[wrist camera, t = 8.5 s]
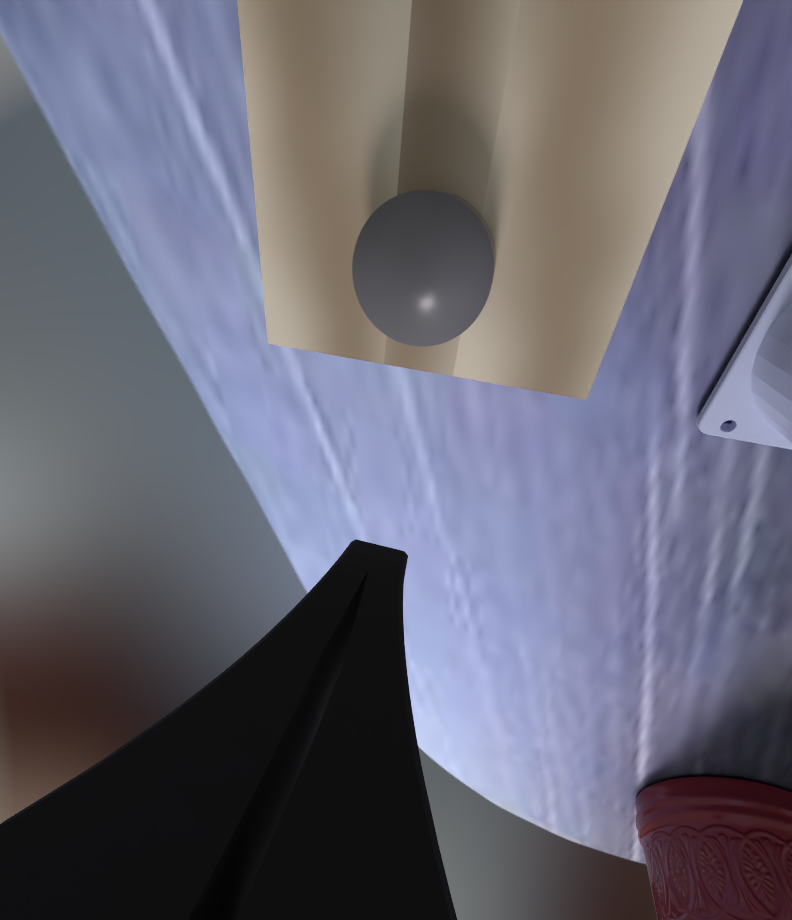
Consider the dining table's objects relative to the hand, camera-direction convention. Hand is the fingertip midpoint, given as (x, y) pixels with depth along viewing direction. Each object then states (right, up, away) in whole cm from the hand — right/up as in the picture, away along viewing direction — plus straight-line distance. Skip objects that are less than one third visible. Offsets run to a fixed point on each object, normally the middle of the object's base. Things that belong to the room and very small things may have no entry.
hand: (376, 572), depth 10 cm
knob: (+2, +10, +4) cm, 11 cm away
